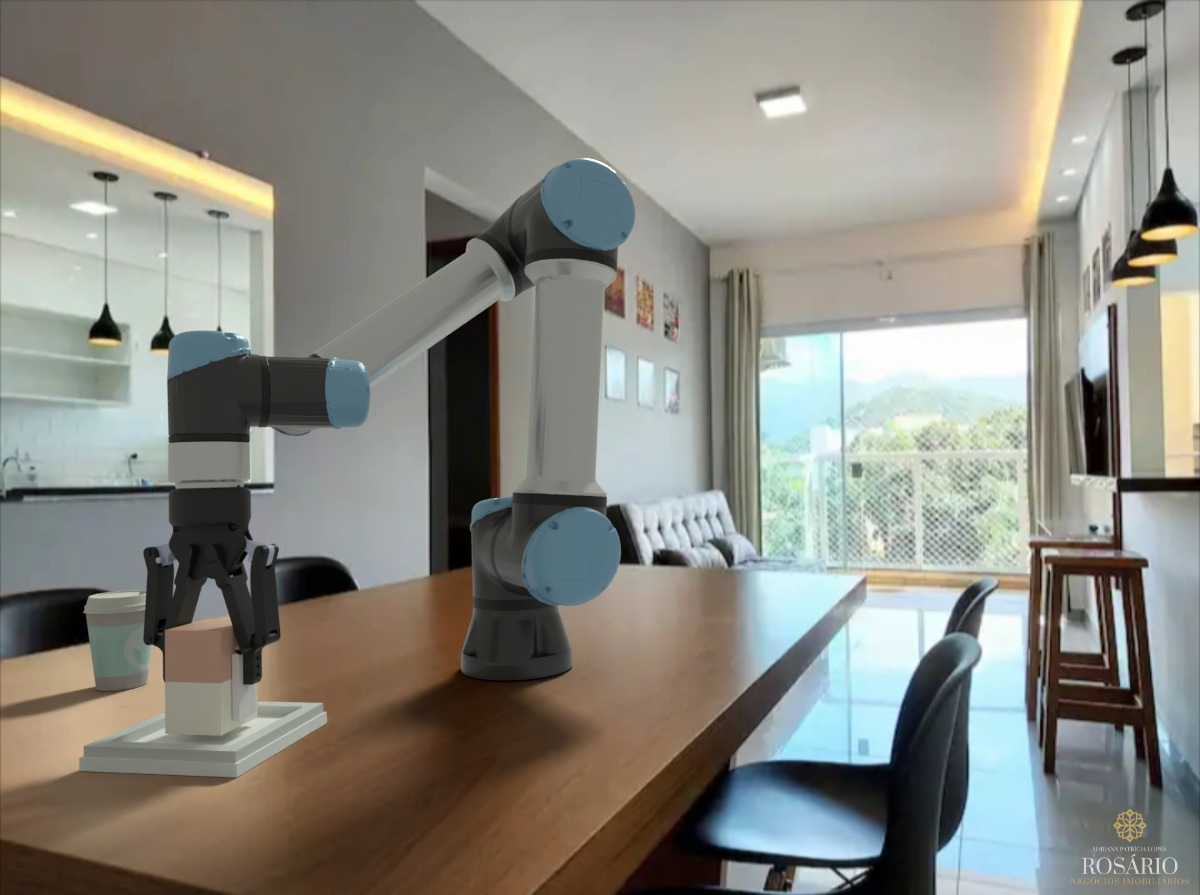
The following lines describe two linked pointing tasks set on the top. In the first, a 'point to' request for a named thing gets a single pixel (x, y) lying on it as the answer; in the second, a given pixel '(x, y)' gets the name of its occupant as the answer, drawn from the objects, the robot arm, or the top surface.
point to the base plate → (203, 744)
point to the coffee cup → (118, 639)
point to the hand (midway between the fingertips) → (212, 715)
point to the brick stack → (200, 678)
